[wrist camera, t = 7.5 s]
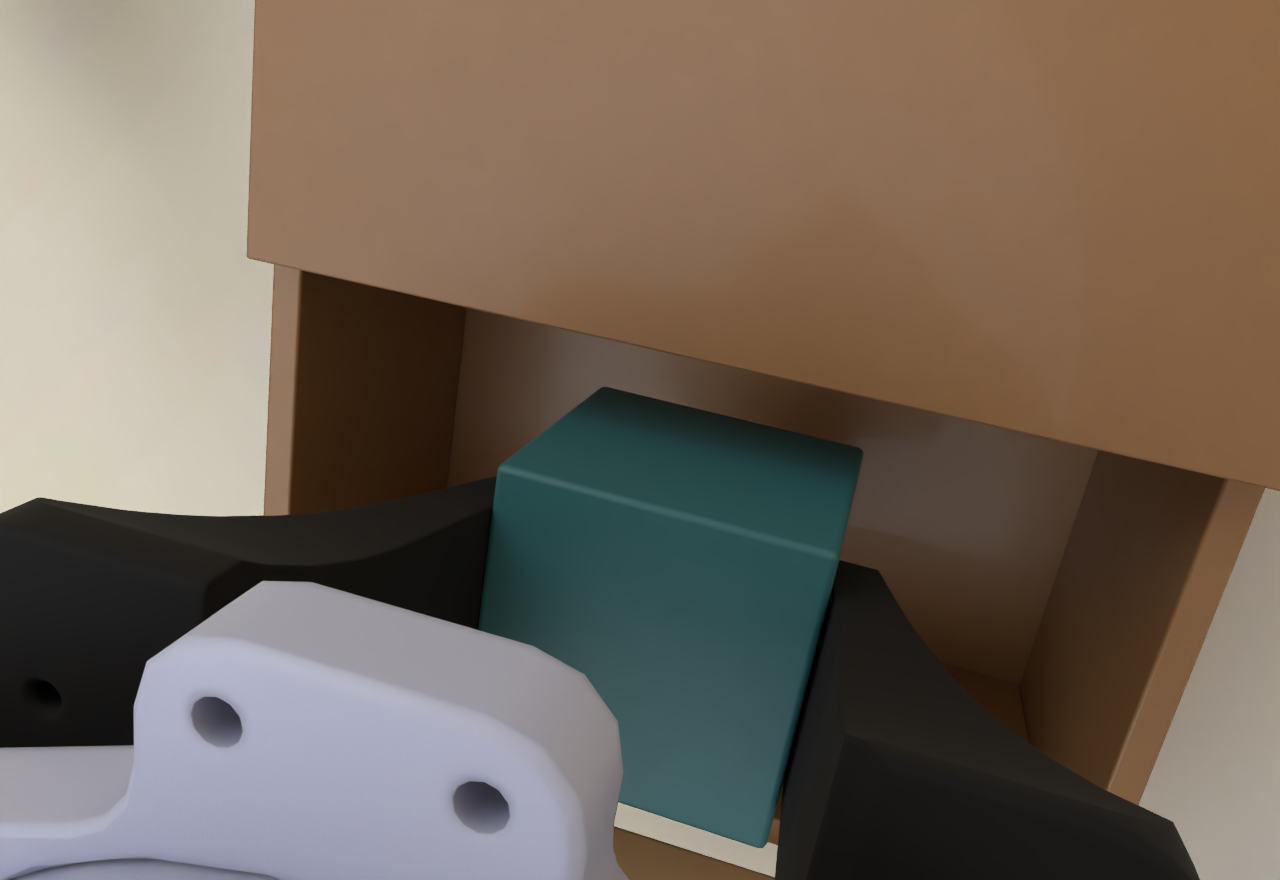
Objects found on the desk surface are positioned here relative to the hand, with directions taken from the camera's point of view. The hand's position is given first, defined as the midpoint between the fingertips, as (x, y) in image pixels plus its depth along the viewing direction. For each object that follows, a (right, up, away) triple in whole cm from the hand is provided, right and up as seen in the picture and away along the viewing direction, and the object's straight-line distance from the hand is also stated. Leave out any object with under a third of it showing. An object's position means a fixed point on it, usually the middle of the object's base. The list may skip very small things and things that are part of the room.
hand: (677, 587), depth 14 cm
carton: (+2, +5, +5) cm, 7 cm away
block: (0, +1, +2) cm, 2 cm away
